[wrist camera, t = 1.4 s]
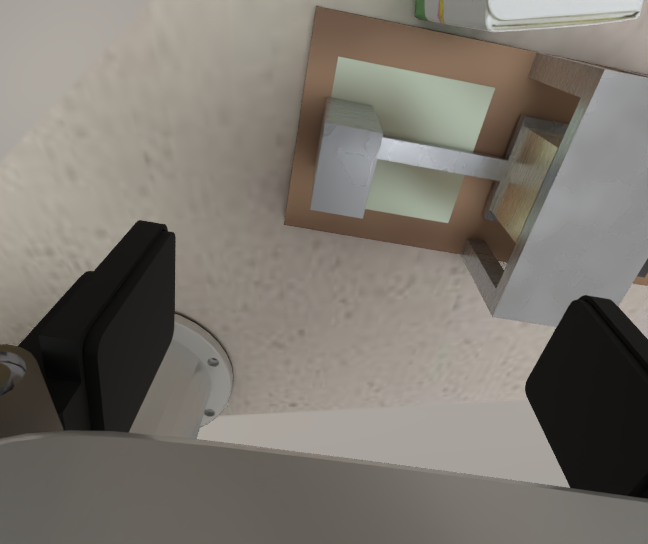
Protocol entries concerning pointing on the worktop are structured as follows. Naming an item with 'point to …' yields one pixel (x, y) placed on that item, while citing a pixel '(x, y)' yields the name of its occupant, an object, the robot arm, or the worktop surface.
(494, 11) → the ink box
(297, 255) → the worktop surface
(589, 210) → the tunnel
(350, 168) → the grey dumbbell
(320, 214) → the board
